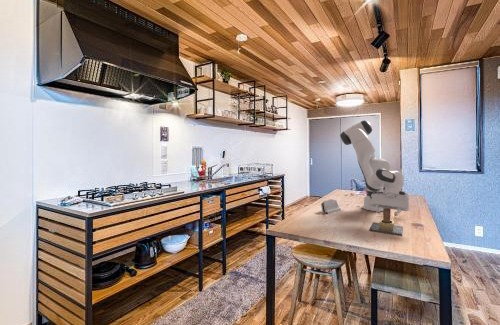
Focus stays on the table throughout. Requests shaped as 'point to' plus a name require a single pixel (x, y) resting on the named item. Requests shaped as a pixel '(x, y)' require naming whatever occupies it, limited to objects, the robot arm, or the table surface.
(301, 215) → the table surface
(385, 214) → the rail post
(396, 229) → the peg socket base
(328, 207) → the hinge
